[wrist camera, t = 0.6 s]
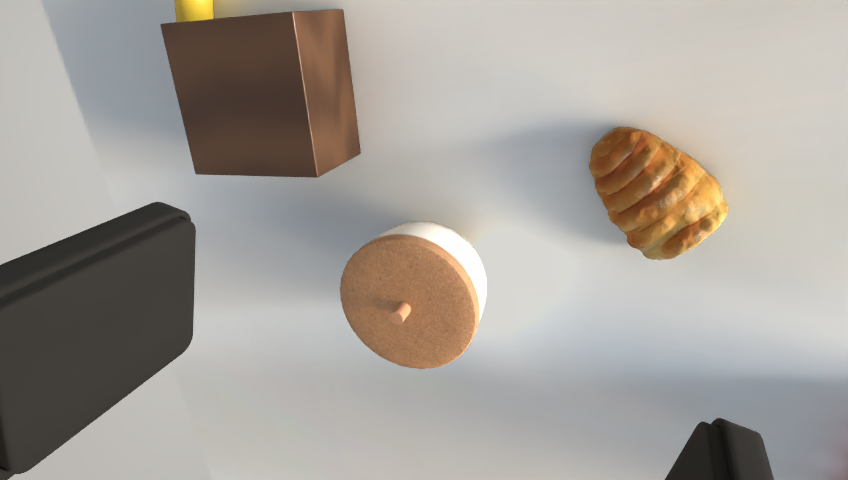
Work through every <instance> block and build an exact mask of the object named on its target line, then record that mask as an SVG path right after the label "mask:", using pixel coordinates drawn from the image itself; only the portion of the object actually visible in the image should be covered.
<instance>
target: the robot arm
mask: <svg viewBox="0 0 848 480" xmlns="http://www.w3.org/2000/svg"><path fill="white" fill-rule="evenodd" d="M195 236H196V230H195V226H194V224H193V223H192V222H191V218H190V216H189V214H188V213H187V212H185V211H183V210H180V209H178V208H175V207H172V206H170V205H167V204H165V203H162V202H155V203H151V204H149V205H146V206H144V207H141V208H139V209H137V210H134V211H132V212H129V213H127V214H124V215H122V216H119V217H117V218H114V219H112V220H110V221H107V222H105V223H102V224H100V225H97V226H95V227H92V228H90V229H88V230H85V231H83V232H80V233H78V234H76V235H73V236H70V237H68V238H66V239H63V240H60V241H58V242H56V243H53V244H51V245H48V246H46V247H43V248H41V249H39V250H36V251H33V252H31V253H29V254H26V255H24V256H21V257H19V258H16V259H14V260H11V261H9V262H6V263H4V264H2V265H0V480H7V479H9V478H10V477H12V476H13V475H14V474H21V473H24V472H26V471H28V470H30V469H31V468H32V467H34V466H35V465H37V464H38V463H39V462H40V461H41V460H43V459H44V458H46V457H47V456H48V455H50V454H51V453H52V452H54V451H55V450H56V449H58V448H59V447H60V446H61V445H63V444H64V443H65V442H67V441H68V440H69V439H71V438H72V437H73V436H74V435H76V434H77V433H79V432H80V431H81V430H82V429H84V428H85V427H86V426H87V425H89V424H90V423H92V422H93V421H94V420H96V419H97V418H98V417H99V416H101V415H102V414H103V413H105V412H106V411H107V410H109V409H110V408H111V407H112V406H114V405H115V404H116V403H118V402H119V401H120V400H122V399H123V398H124V397H126V396H127V395H128V394H130V393H131V392H132V391H134V390H135V389H136V388H137V387H139V386H140V385H141V384H143V383H144V382H145V381H146V380H148V379H149V378H151V377H152V376H153V375H155V374H156V373H157V372H159V371H160V370H161V369H162V368H164V367H165V366H166V365H168V364H169V363H170V362H172V361H173V360H174V359H176V358H177V357H178V356H180V355H181V354H182V353H183V352H184V351H185V350H186V349H187V348H188V346H189V344H190V343H191V340H192V336H193V310H194V273H195ZM665 480H774V478H773V475H772V471H771V468H770V464H769V460H768V457H767V453H766V450H765V446H764V443H763V439H762V437H761V435H760V434H759V433H757V432H755V431H753V430H750V429H747V428H745V427H742V426H740V425H737V424H735V423H732V422H729V421H727V420H724V419H722V418H717V419H716V420H714V421H713V422H712V424H708V423H706V422H700V423H699V424H698V425H697V427H696V428H695V430H694V431H693V433H692V435H691V437H690V438H689V440H688V442H687V443H686V445H685V447H684V448H683V450H682V452H681V453H680V455H679V457H678V459H677V460H676V462H675V464H674V465H673V467H672V469H671V470H670V472H669V474H668V475H667V477H666V479H665Z"/></svg>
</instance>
